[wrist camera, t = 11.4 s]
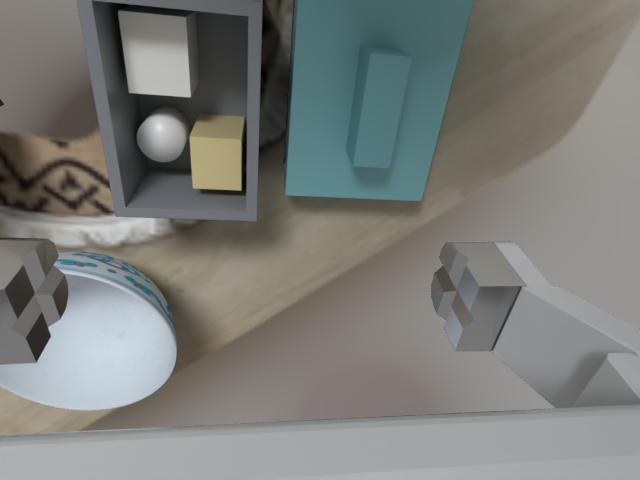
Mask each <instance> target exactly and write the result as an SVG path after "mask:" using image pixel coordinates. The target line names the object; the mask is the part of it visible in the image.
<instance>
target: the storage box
mask: <svg viewBox="0 0 640 480" xmlns="http://www.w3.org/2000/svg"><path fill="white" fill-rule="evenodd" d="M77 5H78V11H79V16H80V22H81V27H82V33H83V38H84V44H85V50H86V55H87V61H88V66H89V72H90V77H91V83H92V88H93V94H94V99H95V104H96V111H97V116H98V122H99V127H100V133H101V138H102V144H103V149H104V155H105V160H106V166H107V171H108V177H109V183H110V188H111V194H112V199H113V205H114V210H115V216H116V217H144V218H174V219H203V220H233V221H257V198H258V167H259V129H260V91H261V53H262V15H263V0H77Z"/></svg>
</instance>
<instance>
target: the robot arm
mask: <svg viewBox="0 0 640 480" xmlns="http://www.w3.org/2000/svg"><path fill="white" fill-rule="evenodd" d="M58 257H59V255H58V253H57V250H56V247H55V245H54V243H53V242H52V241H50V240H49V239H37V238H0V365H6V364H24V363H37V361H38V359H39V357H40V356H41V354H42V352H43V350H44V348H45V347H46V345H47V343H48V341H49V339H50V338H51V334H50V331H49V329H48V327H49V326H51V325H53V324H54V323H56V322H57V321H59V320H60V319H61V317H62V315H63V313H64V311H65V310H66V306H67V301H68V295H69V293H68V283H67V280H66V277H65V274H64V273H63V272H61V271H60V270H59V269H58V268H56V267H55V266H54V264H55V262H56V261H57V259H58ZM439 258H440V260H441V262H442V264H443V266H442V267H441V268H440V269H439V270H438V271H437V272H435V273H434V277H433V281H432V285H431V289H432V290H431V295H432V296H431V297H432V301H433V305H434V308H435V310H436V312H437V314H438V315H440V316H441V317H443V318H444V319H446V323H445V327H444V329H445V331H446V334H447V336H448V338H449V340H450V342H451V344H452V346H453V348H454V350H455V351H493V352H492V353H493V354H494V355H495V356H496V357H497V358H498V359H500V360H501V361H502V362H503V363H504V364H506V365H507V366H508V367H509V368H510V369H511V370H512V371H513V372H515V373H516V374H517V375H518V376H519V377H520V378H522V379H523V380H524V381H525V382H526V383H527V384H529V385H530V386H531V387H532V388H533V389H534V390H536V391H537V392H538V393H539V394H540V395H541V396H543V397H544V398H545V399H546V400H547V401H548V402H549V403H551V404H552V405H553V406H554V407H555V408H553V409H532V410H512V411H491V412H472V413H449V414H429V415H408V416H388V417H387V416H386V417H366V418H345V419H324V420H303V421H284V422H283V421H282V422H262V423H241V424H222V425H200V426H181V427H180V426H179V427H160V428H138V429H119V430H99V431H76V432H55V433H35V434H14V435H0V480H640V329H639V328H638V327H636V326H634V325H632V324H630V323H628V322H626V321H624V320H622V319H620V318H618V317H616V316H614V315H613V314H610V313H609V312H607V311H605V310H603V309H601V308H599V307H597V306H595V305H593V304H592V303H590V302H588V301H586V300H584V299H582V298H580V297H578V296H576V295H574V294H572V293H570V292H568V291H566V290H565V289H562V288H561V287H552V286H551V284H550V283H549V282H548V281H547V280H546V279H545V277H544V276H543V275H542V274H541V273H540V272H539V270H538V269H537V268H536V267H535V266H534V264H533V263H532V262H531V261H530V260H529V259H528V258H527V256H526V255H525V254H524V253H523V251H521V249H520V248H519V247H518V246H517V244H515V243H513V242H511V241H504V242H503V241H502V242H472V243H471V242H468V243H467V242H462V243H446V244H445V245H444V246H443V248H442V250H441V253H440V257H439Z"/></svg>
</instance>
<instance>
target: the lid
mask: <svg viewBox="0 0 640 480" xmlns="http://www.w3.org/2000/svg"><path fill="white" fill-rule="evenodd" d="M473 1H474V0H295V10H294V26H293V43H292V59H291V75H290V91H289V107H288V123H287V139H286V155H285V171H284V187H285V195H288V196H311V197H335V198H358V199H381V200H404V201H421V200H422V197H423V193H424V189H425V185H426V181H427V177H428V174H429V170H430V166H431V162H432V158H433V154H434V151H435V147H436V143H437V139H438V135H439V131H440V127H441V124H442V120H443V116H444V112H445V108H446V104H447V101H448V97H449V93H450V89H451V85H452V81H453V78H454V74H455V70H456V66H457V62H458V58H459V54H460V51H461V47H462V43H463V39H464V35H465V31H466V28H467V24H468V20H469V16H470V12H471V8H472V4H473Z"/></svg>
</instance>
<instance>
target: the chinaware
mask: <svg viewBox="0 0 640 480" xmlns="http://www.w3.org/2000/svg"><path fill="white" fill-rule="evenodd" d="M58 255H59V257H58V259H57V261H56V262H55V264H54V266H55V267H56V268H58V269H59V270H60V271H61V272H63V273H64V274H65V277H66V280H67V283H68V293H69V295H68V301H67V306H66V310H65V311H64V313H63V315H62V317H61V319H60V320H59V321H57V322H56V323H54V324H53V325H51V326H49V327H48V329H49V331H50V334H51V338H50V339H49V341H48V343H47V345H46V347H45V348H44V350H43V352H42V354H41V356H40V357H39V359H38V361H37V363H24V364H6V365H0V386H1V387H3V388H4V389H6V390H8V391H10V392H12V393H14V394H16V395H18V396H20V397H23V398H25V399H28V400H31V401H34V402H37V403H40V404H44V405H48V406H52V407H57V408H63V409H72V410H104V409H111V408H117V407H122V406H125V405H129V404H131V403H135V402H137V401H140V400H142V399H144V398H146V397H148V396H149V395H151V394H152V393H154V392H155V391H157V390H158V389H159V388H160V387H161V386H162V385H163V384H164V383H165V382H166V381H167V380H168V378H169V377H170V375H171V373H172V371H173V369H174V366H175V363H176V358H177V335H176V328H175V323H174V319H173V316H172V313H171V310H170V308H169V305H168V303H167V301H166V299H165V298H164V296H163V294H162V293H161V291H160V290H159V289H158V288H157V286H156V285H155V284H154V283H153V282H152V281H151V280H150V279H149V278H148V277H147V276H146V275H144V274H143V273H142V272H141V271H139V270H138V269H136V268H135V267H133V266H131V265H129V264H127V263H125V262H123V261H121V260H118V259H116V258H113V257H109V256H106V255H101V254H96V253H88V252H65V253H58Z"/></svg>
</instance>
